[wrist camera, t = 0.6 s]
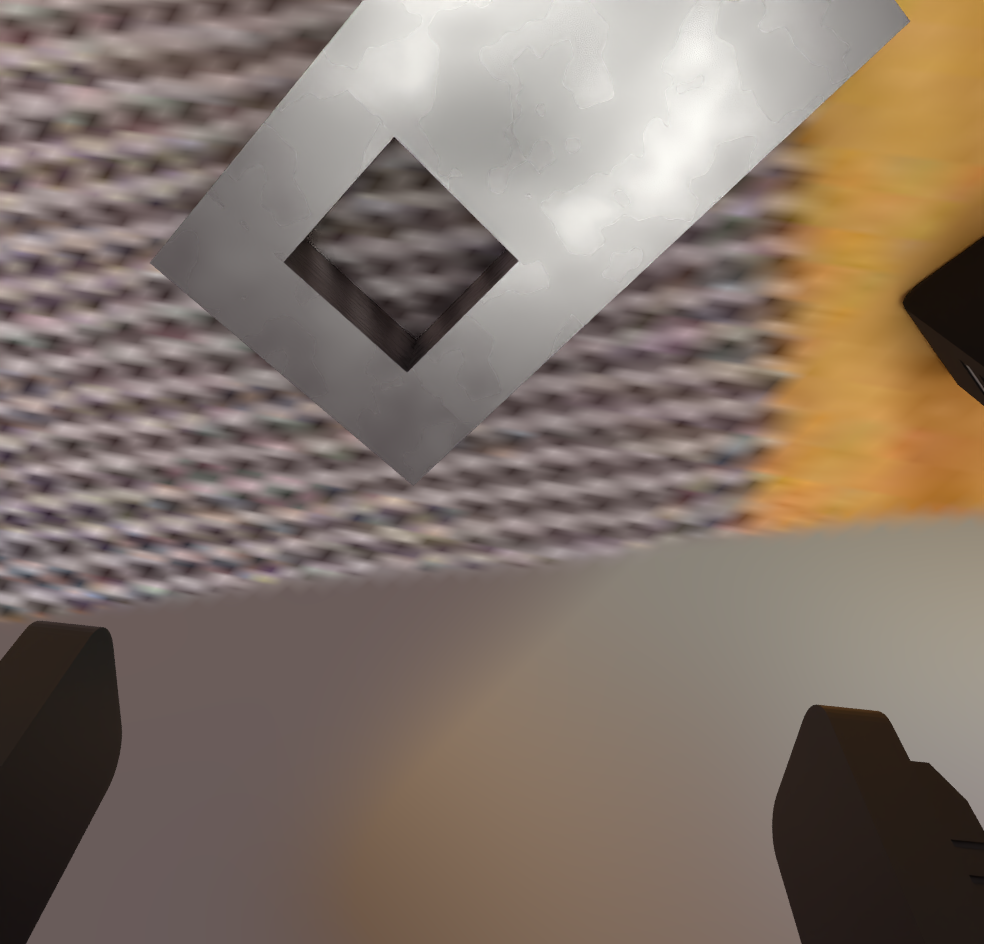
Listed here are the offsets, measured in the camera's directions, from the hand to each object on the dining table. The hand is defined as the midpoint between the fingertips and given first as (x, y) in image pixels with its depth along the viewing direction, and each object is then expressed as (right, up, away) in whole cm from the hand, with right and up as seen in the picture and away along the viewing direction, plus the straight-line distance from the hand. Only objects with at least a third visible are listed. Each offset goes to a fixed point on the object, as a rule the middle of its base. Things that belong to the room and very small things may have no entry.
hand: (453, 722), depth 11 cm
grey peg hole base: (+1, +15, +21) cm, 26 cm away
